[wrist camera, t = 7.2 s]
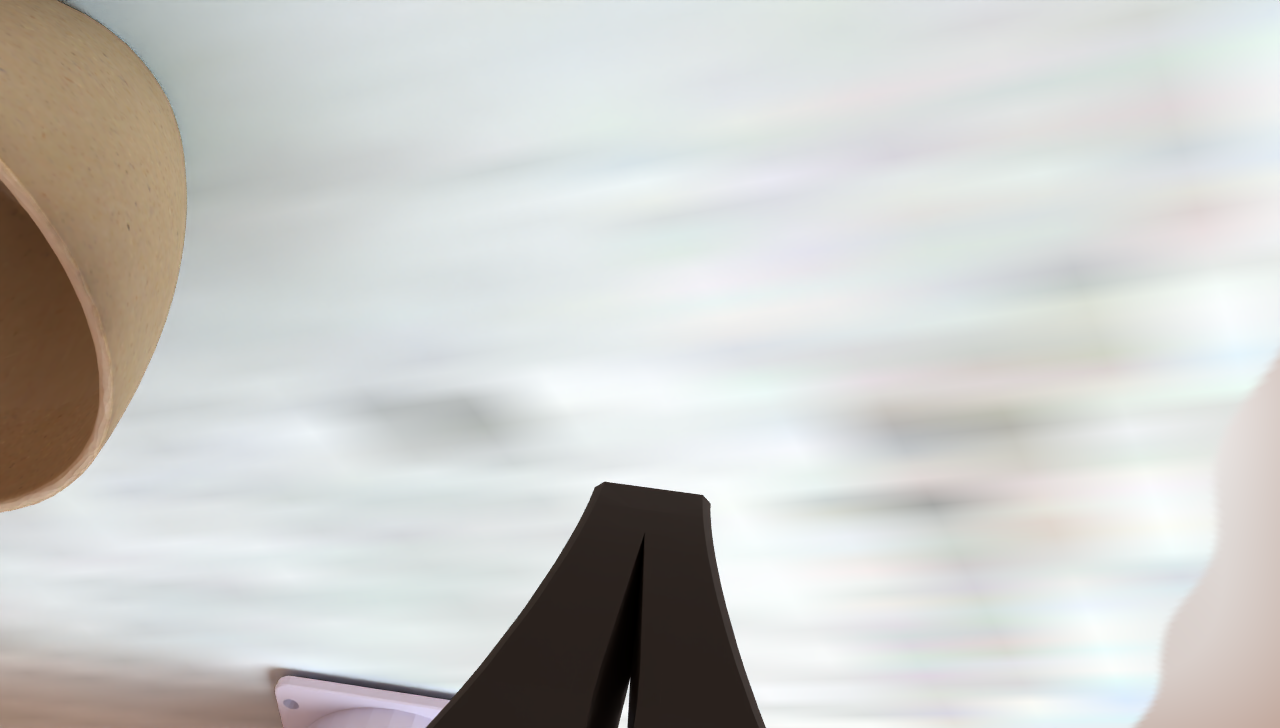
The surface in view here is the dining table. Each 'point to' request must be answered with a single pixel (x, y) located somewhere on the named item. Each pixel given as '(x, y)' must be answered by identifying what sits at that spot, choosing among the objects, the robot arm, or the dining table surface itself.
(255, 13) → the dining table surface
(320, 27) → the dining table surface
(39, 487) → the flower pot
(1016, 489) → the dining table surface
